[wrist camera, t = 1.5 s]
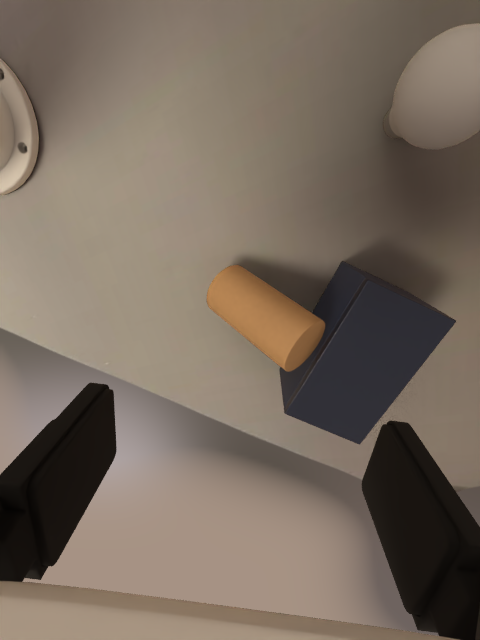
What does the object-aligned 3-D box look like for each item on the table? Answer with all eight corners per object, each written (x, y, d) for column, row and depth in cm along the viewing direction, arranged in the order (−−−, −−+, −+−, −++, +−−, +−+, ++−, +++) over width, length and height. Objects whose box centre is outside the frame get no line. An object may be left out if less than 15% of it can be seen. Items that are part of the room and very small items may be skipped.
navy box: (279, 369, 35) (284, 413, 28) (341, 260, 30) (368, 279, 23) (339, 395, 36) (359, 444, 29) (410, 292, 31) (456, 321, 24)
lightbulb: (358, 168, 27) (416, 148, 17) (358, 88, 25) (424, 10, 15) (429, 157, 27) (533, 130, 17) (435, 73, 25) (559, -18, 14)
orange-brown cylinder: (205, 298, 33) (185, 340, 23) (223, 254, 31) (210, 279, 21) (295, 337, 34) (312, 391, 24) (318, 297, 32) (346, 338, 23)
